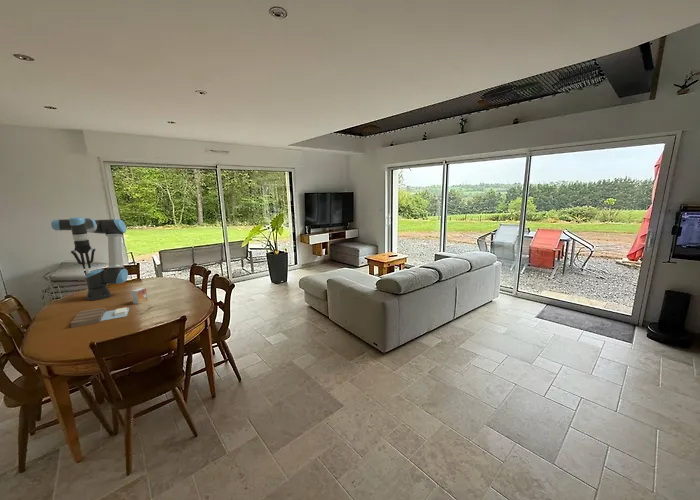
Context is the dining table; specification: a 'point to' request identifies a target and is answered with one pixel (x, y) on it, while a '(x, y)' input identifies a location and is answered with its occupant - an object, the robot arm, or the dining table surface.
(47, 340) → the dining table surface
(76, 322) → the deck
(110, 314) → the mat
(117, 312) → the white flat block
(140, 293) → the small box
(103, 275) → the robot arm
